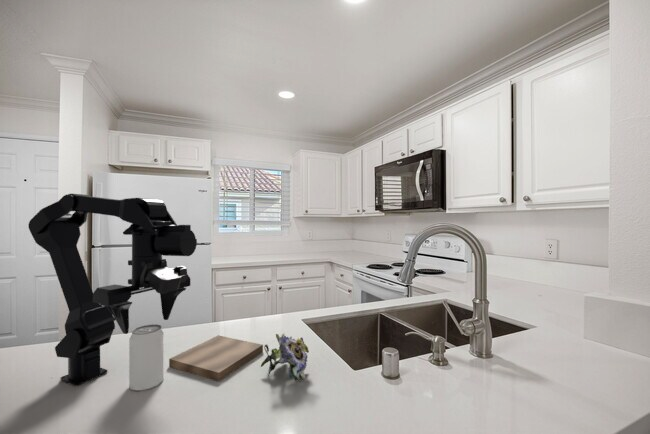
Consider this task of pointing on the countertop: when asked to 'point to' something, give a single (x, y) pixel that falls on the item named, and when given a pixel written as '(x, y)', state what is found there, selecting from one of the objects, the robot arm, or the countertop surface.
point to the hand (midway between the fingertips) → (147, 326)
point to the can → (146, 357)
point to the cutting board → (216, 357)
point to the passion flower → (289, 356)
